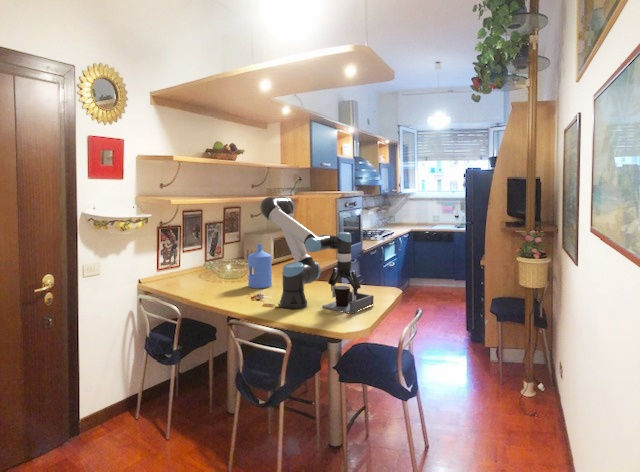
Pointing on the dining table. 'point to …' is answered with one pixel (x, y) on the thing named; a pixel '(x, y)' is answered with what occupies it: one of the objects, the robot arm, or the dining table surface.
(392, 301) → the dining table surface
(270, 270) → the water jug
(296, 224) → the robot arm
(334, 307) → the corner arena
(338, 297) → the coffee mug
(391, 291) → the dining table surface
